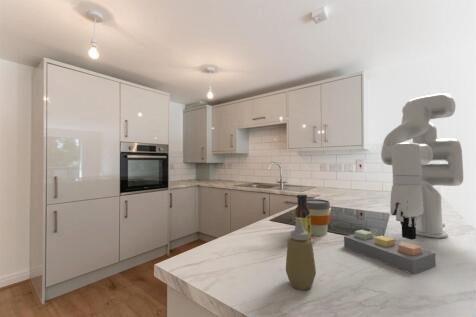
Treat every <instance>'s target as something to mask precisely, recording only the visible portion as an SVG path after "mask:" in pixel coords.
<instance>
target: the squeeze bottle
mask: <svg viewBox="0 0 476 317" xmlns="http://www.w3.org/2000/svg"><path fill="white" fill-rule="evenodd" d="M286 245H287V246H286V247H287V248H286V258H285V259H286V262H285V274H286V275H287V278H288V281H289V284H290V285H291V287H293V288H294V289H296V290H302V291H303V290H304V291H305V290H309V289H311V288H312V287H313V284H314V280H315V278H316V274H317V271H316V263H315V262H316V261H315V254H314V248H313V242H312V239H311V240H309V239H308V232H307V231H305V230H304V228H303V224H302V220H301V218H297V221H296V223H295V227H294V229H292V230H291V231H290V238H288V240H287V244H286Z"/></svg>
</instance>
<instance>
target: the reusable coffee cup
mask: <svg viewBox="0 0 476 317" xmlns="http://www.w3.org/2000/svg"><path fill="white" fill-rule="evenodd" d="M330 204H331V203H330V200H326V199H320V198H307V206H308V209H309V211H310V219H311V236H315V237H324V236H326V235H328V225H329V224H330V217H331V214H330V209H331V205H330Z"/></svg>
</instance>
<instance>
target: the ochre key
mask: <svg viewBox="0 0 476 317" xmlns="http://www.w3.org/2000/svg"><path fill="white" fill-rule="evenodd" d="M377 236H378V237H374V243H375V244H378V245H381V246H384V247H391V246H394V245H395V241H396V239H395V238H393V237H388V236H385V235H377Z"/></svg>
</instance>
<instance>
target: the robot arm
mask: <svg viewBox="0 0 476 317" xmlns="http://www.w3.org/2000/svg"><path fill="white" fill-rule="evenodd" d="M455 111H456V101H455V99H454V98H453V96H451V94H450V93H446V92H445V93H443V92H442V93H435V94H431V95H424V96H419V97H415V98H412V99H410V100H408V101H407V102H406V103H405V105H404V106H403V107H402V119H401V124H399V125H397V127H395V128H394V129H392V130H391V131H389V133H387V134H386V136H385V137H384V138H383V143H382V146H381V153H380V154H381V160H382V163H384V164H385V165H387V166H392V169H391V170H392V171H391V172H392V186H391V192H390V206H389V208H390V210H389V211H390V215H391V216H395V221H397V222H400V224H399V225H400V226H401V237H402V238H403V239H408V240H416V239H417V236H422V237H427V238H433V239H434V238H435V239H444V238H448V233H447V232H445V231H444V230H443V229H444V228H445V227H446V224H445V223H443V208H442V196H441V193H440V192H439V191H438V190H437V189H436V188H435V187H434V186H443V187H445V186H447V187H456V186H457V187H458V186H460V185H462V183H464V164H463V150H462V144H461V142H460V141H459V140H458V139H456V138H451V137H450V138H449V137H448V138H438V135H437V134H438V133H437V127H436V126H435V125H434V124H433V123H432V121H431V122H430V120H435V119H444V118H449V117H452V116H453V115H454V114H455ZM409 140H412V142H406V141H409ZM436 161H437V162H439V161H440V162H443V161H444V162H447V163H430V162H436Z"/></svg>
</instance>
